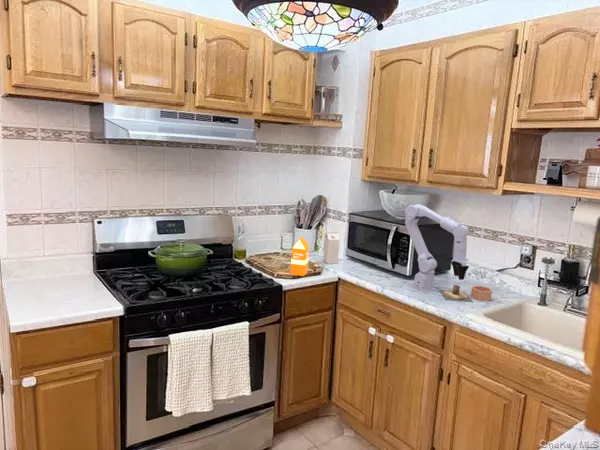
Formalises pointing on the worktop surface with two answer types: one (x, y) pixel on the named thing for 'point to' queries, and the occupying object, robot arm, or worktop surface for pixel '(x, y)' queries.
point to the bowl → (481, 293)
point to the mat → (455, 299)
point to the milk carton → (331, 248)
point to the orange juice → (300, 258)
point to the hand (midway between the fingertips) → (458, 277)
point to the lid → (455, 293)
